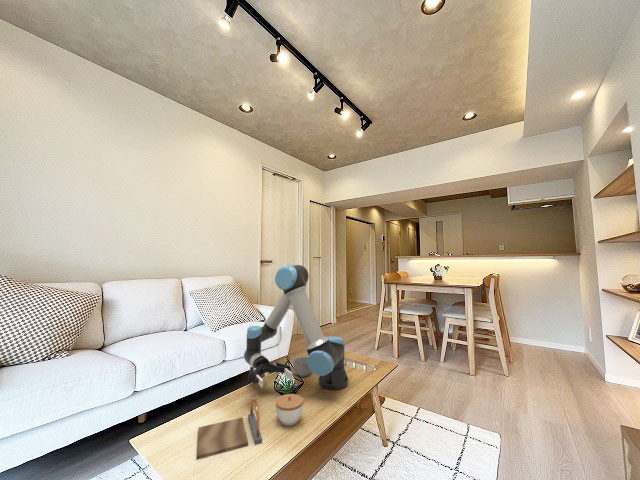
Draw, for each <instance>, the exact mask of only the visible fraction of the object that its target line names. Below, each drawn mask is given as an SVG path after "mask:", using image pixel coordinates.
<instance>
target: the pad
mask: <svg viewBox="0 0 640 480" xmlns="http://www.w3.org/2000/svg"><path fill="white" fill-rule="evenodd" d="M197 429H198V430H197V444H196V445H197V447H196V449H197V451H196V460H200V459H204V458H208V457H210V456H215V455H219V454H222V453H223V454H224V453H226V452H229V451H233V450H237V449H241V448H245V447H247V446H249V440H248V436H247V435H248V434H247V432H246V426H245V422H244V418H243V416H242V417H238V418H235V419H230V420H225V421H221V422H216V423H213V424H208V425H207V424H206V425H204V426H199V427H197Z"/></svg>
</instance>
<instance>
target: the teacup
mask: <svg viewBox="0 0 640 480" xmlns="http://www.w3.org/2000/svg"><path fill="white" fill-rule="evenodd" d="M307 360H308V356H306V355H302V356H298V357H296V358H294V359H293V360H292V363H293V372H294V374H295V375H297V374H298V375H299V376H298V375H297V376H298V377H307V376H309V375H310V374H311V373H312V372H311V370H310V369H309V367H308V364H307Z"/></svg>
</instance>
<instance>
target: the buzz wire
mask: <svg viewBox="0 0 640 480" xmlns="http://www.w3.org/2000/svg"><path fill="white" fill-rule="evenodd" d="M257 401H258V400H257V399H256V398H255V397H254V396H251V397H250V410H249V411H250V413H249V414H251V415H253V413H254V410H255V417H256V421H257V429H256V436H257V437H258V436H259V430H260V412H259V407H258V402H257Z"/></svg>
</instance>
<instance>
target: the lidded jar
mask: <svg viewBox="0 0 640 480" xmlns="http://www.w3.org/2000/svg"><path fill="white" fill-rule="evenodd" d="M303 405H304V399H303V397H302V396H301V395H299V394H295V393H286V394H283V395H281V396H279V397H278V398H277V399H276V400H275V407H276V408H275V409H276V410H275V411H276V416H277V419H278V420H279V421H280V422H281V424H282V425H285V426H288V427H289V426H294V425H295V424H297V422H298V421H299V420H300V418H301V417H302V413H303V409H304V408H303Z"/></svg>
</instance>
